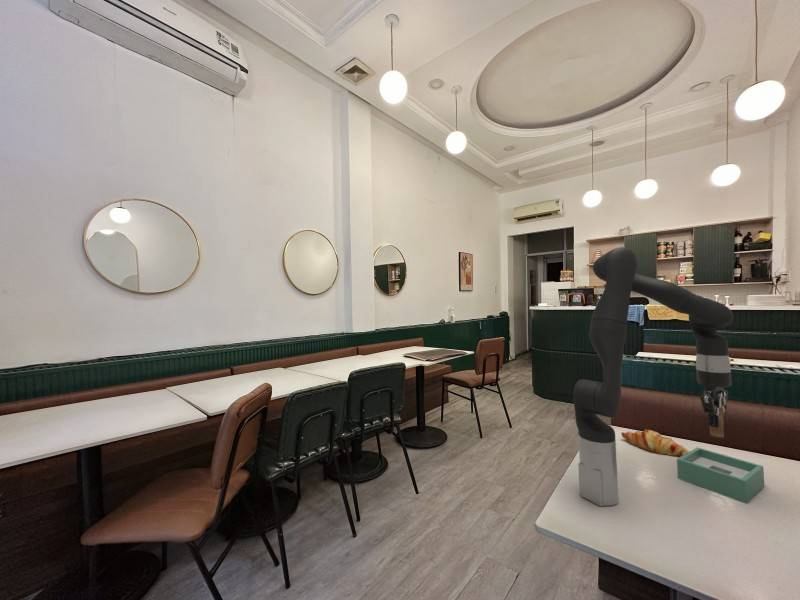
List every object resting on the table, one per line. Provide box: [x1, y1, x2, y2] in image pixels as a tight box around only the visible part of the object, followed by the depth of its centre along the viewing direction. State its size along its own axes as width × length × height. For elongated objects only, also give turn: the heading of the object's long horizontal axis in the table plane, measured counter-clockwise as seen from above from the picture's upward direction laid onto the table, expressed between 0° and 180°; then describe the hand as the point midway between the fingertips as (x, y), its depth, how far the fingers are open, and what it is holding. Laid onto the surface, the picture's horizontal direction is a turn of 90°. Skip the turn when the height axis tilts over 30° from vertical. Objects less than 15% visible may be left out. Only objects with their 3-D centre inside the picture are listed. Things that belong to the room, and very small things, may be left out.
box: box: [676, 447, 766, 504], centre depth 97 cm, size 15×15×6 cm
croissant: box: [621, 428, 690, 457], centre depth 120 cm, size 21×10×8 cm, turn 37°
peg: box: [709, 403, 725, 439], centre depth 97 cm, size 3×3×10 cm
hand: (716, 425), depth 97 cm, fingers closed on peg, 3 cm apart
